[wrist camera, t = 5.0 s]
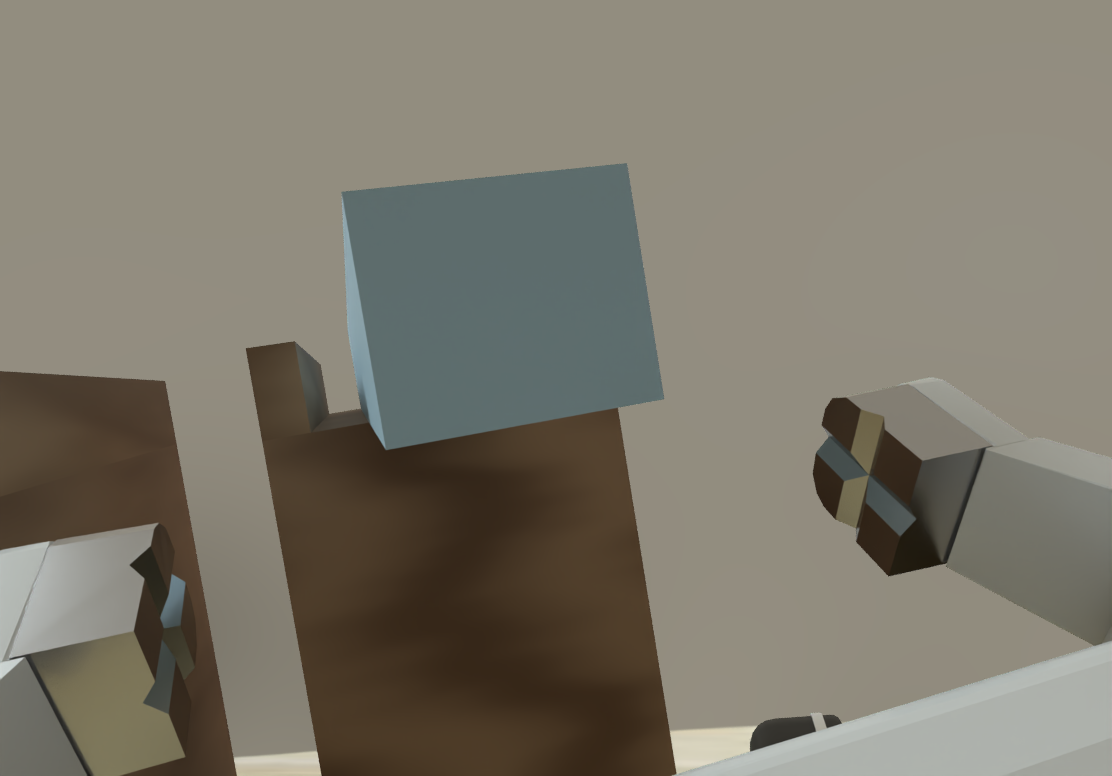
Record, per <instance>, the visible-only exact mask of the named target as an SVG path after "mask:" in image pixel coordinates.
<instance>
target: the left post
mask: <svg viewBox="0 0 1112 776" xmlns="http://www.w3.org/2000/svg"><path fill="white" fill-rule="evenodd" d="M155 523H160V524H161V525H163V526H164V527H165V528H166V530H167V532H168V535H169V537H170V540H171V542H172V545H173V548H174V550H175V555H174V562H173V569H172V574H173V575H174V576H176V577H178V578H179V579H181V580H183V581H185V582H186V585H187V588H188V591H189V594H190V597H191V601H192V606H193V610H194V615H195V622H196V638H197V651H196V663H195V668H194V669H193V670H192V672H191V673H190V674H189V675H188V676H187V678H186V679H185V680H184V683H185V685H186V688H187V691H188V693H189V696H190V699H191V702H192V703H191V712H190V721H189V730H188V739H187V748H186V757H184V758H180V759H177V760H173V761H169V762H166V763H162V764H159V765H155V766H152V767H148V768H145V769H141V770H138V771H134V772H131V773H127V774H124V775H120V776H237V774H236V769H235V763H234V758H233V753H232V747H231V741H230V736H229V730H228V725H227V719H226V714H225V709H224V703H223V697H222V692H221V687H220V681H219V675H218V670H217V664H216V659H215V653H214V648H213V642H212V637H211V631H210V626H209V620H208V615H207V609H206V604H205V599H204V593H203V587H202V582H201V576H200V571H199V565H198V560H197V554H196V549H195V543H194V538H193V533H192V527H191V521H190V516H189V510H188V505H187V500H186V494H185V488H184V483H183V477H182V472H181V466H180V461H179V456H178V450H177V444H176V439H175V433H174V428H173V422H172V417H171V411H170V406H169V400H168V395H167V389H166V384H165V381H155V380H138V379H137V380H136V379H121V378H104V377H87V376H71V375H54V374H36V373H21V372H2V371H0V551H1V550H4V549H9V548H15V547H20V546H26V545H31V544H37V543H42V542H48V541H54V542H55V541H56V540H58V539H64V538H70V537H76V536H83V535H89V534H95V533H101V532H107V531H113V530H119V529H125V528H131V527H137V526H143V525H149V524H155Z"/></svg>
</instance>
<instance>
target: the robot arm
mask: <svg viewBox="0 0 1112 776" xmlns="http://www.w3.org/2000/svg"><path fill="white" fill-rule="evenodd" d="M822 426H823V428H824V429H825V431H826V433H827V435H828V436H829V437H828V439H827V440H826V441H825V442H824V444H823V445H822V446H821V447H820V449H819V450H818V451H817V452H816V456H815V464H814V469H813V477H814V482H815V487H816V491H817V494H818V496H819V498H820V500H821V502H822V504H823V506H824V507H825V508H826V510H827V511H828V512H829V513H830V514H831V515H832V516H833V517H834V518H835V520H838V521H840V522H843V523H845V524H847V525H850V526H852V527H854V528H856V542H857V543H858V544H859V545H860V546H861V548H863V550H864V551H865V552H866V553H867V554H868V555H869V556H870V557H871V558H872V559H873V560H874V561H875V562H876V563H877V564H878V566H879V567H880V568H881V569H882V570H883V571H884V572H885V573H886V574H887V575H888V576H893V575H897V574H902V573H906V572H911V571H915V570H919V569H924V568H928V567H933V566H937V565H942V564H946V563H947V565H946V567H947V568H949V569H951V570H953V571H955V572H957V573H959V574H961V575H962V576H964V577H966V578H968V579H970V580H972V581H974V582H976V583H977V584H979V585H981V586H983V587H985V588H987V589H989V590H991V591H992V592H994V593H996V594H998V595H1000V596H1002V597H1004V598H1006V599H1008V600H1009V601H1011V602H1013V603H1015V604H1017V605H1019V606H1021V607H1023V608H1024V609H1027V610H1028V611H1030V612H1032V613H1034V614H1036V615H1038V616H1040V617H1041V618H1043V619H1045V620H1047V621H1049V622H1051V623H1053V624H1055V625H1056V626H1058V627H1060V628H1062V629H1064V630H1066V631H1068V632H1070V633H1071V634H1073V635H1075V636H1077V637H1079V638H1081V639H1083V640H1085V641H1087V642H1088V643H1090V644H1092V645H1094V646H1093V647H1090V648H1086V649H1083V650H1080V651H1077V652H1073V653H1070V654H1067V655H1063V656H1060V657H1057V658H1054V659H1050V660H1047V661H1044V662H1041V663H1037V664H1034V665H1031V666H1028V667H1024V668H1021V669H1018V670H1015V671H1011V672H1008V673H1005V674H1002V675H998V676H995V677H992V678H989V679H986V680H982V681H979V682H976V683H972V684H969V685H966V686H963V687H960V688H956V689H953V690H950V691H947V692H943V693H940V694H937V695H933V696H931V697H927V698H924V699H920V700H918V701H914V702H911V703H907V704H904V705H901V706H898V707H895V708H891V709H888V710H885V711H882V712H878V713H875V714H872V715H869V716H865V717H862V718H859V719H856V720H852V721H849V722H846V723H843V724H839V725H836V726H833V727H829V728H826V729H823V730H820V731H816V732H813V733H810V734H807V735H803V736H800V737H797V738H793V739H790V740H787V741H784V742H780V743H777V744H774V745H771V746H767V747H764V748H761V749H758V750H754V751H751V752H748V753H744V754H741V755H738V756H735V757H731V758H728V759H725V760H722V761H718V762H715V763H712V764H708V765H705V766H702V767H699V768H695V769H692V770H689V771H686V772H682V773H679V774H676V775H672V776H1112V458H1110V457H1106V456H1103V455H1100V454H1096V453H1092V452H1089V451H1086V450H1083V449H1079V448H1075V447H1072V446H1069V445H1065V444H1062V443H1059V442H1055V441H1051V440H1048V439H1044V438H1041V437H1037V438H1032V439H1029V438H1028V437H1026V436H1025V435H1023V434H1022V433H1020V432H1019V431H1017V430H1016V429H1014V428H1013V427H1012V426H1010V425H1009V424H1007V423H1006V422H1004V421H1003V420H1001V419H1000V418H998V417H997V416H996V415H994V414H993V413H991V412H990V411H988V410H987V409H985V408H984V407H983V406H981V405H980V404H978V403H977V402H975V401H974V400H972V399H971V398H969V397H968V396H967V395H965V394H963V393H962V392H961V391H959V390H958V389H956V388H955V387H953V386H952V385H950V384H949V383H948V382H946V381H945V380H941V379H937V378H932V377H930V378H925V379H921V380H916V381H911V382H907V383H902V384H899V385H897V386H894V387H889V388H884V389H878V390H873V391H868V392H863V393H857V394H852V395H847V396H842V397H836V398H832V400H831V401H830V403H829V404H828V406H827V407H826V409H825V413H824V417H823V422H822ZM174 555H175V550H174V548H173V545H172V542H171V540H170V537H169V535H168V532H167V530H166V528H165V527H164V526H163V525H161V524H160V523H155V524H149V525H143V526H137V527H131V528H125V529H119V530H113V531H107V532H101V533H95V534H89V535H83V536H76V537H70V538H64V539H58V540H56V541H55V542H54V541H48V542H42V543H37V544H31V545H26V546H20V547H15V548H9V549H4V550H1V551H0V776H120V775H124V774H127V773H131V772H134V771H138V770H141V769H145V768H148V767H152V766H155V765H159V764H162V763H166V762H169V761H173V760H177V759H180V758H184V757H186V748H187V739H188V730H189V721H190V712H191V703H192V702H191V699H190V696H189V693H188V691H187V688H186V685H185V683H184V680H185V679H186V678H187V676H188V675H189V674H190V673H191V672H192V670H193V669H194V668H195V663H196V651H197V638H196V622H195V615H194V610H193V606H192V601H191V597H190V594H189V591H188V588H187V585H186V582H185V581H183V580H181V579H179V578H178V577H176V576H174V575H173V574H172V569H173V562H174Z"/></svg>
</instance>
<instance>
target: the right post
mask: <svg viewBox="0 0 1112 776" xmlns="http://www.w3.org/2000/svg"><path fill="white" fill-rule="evenodd" d="M246 352H247V358H248V363H249V369H250V375H251V380H252V386H253V392H254V397H255V403H256V409H257V414H258V420H259V426H260V431H261V437H262V442H263V448H264V454H265V459H266V465H267V470H268V476H269V481H270V487H271V493H272V499H273V504H274V510H275V516H276V521H277V527H278V532H279V538H280V544H281V549H282V555H283V560H284V566H285V572H286V577H287V583H288V589H289V594H290V600H291V605H292V611H293V617H294V622H295V628H296V634H297V639H298V645H299V651H300V656H301V662H302V667H303V673H304V679H305V684H306V690H307V696H308V701H309V706H310V712H311V718H312V723H313V729H314V734H315V741H316V745H317V752H318V757H319V763H320V769H321V774H322V776H672V775H676V768H675V762H674V756H673V749H672V743H671V737H670V731H669V724H668V719H667V713H666V706H665V700H664V693H663V687H662V681H661V675H660V668H659V663H658V656H657V650H656V643H655V637H654V631H653V625H652V618H651V612H650V606H649V600H648V595H647V588H646V581H645V575H644V569H643V562H642V556H641V550H640V544H639V537H638V531H637V525H636V519H635V513H634V506H633V501H632V494H631V488H630V482H629V476H628V469H627V464H626V456H625V450H624V444H623V438H622V432H621V425H620V419H619V413H618V408H613V409H607V410H602V411H597V412H591V413H586V414H580V415H575V416H569V417H564V418H558V419H553V420H547V421H542V422H537V423H531V424H526V425H520V426H515V427H509V428H504V429H498V430H493V431H487V432H482V433H477V434H471V435H466V436H460V437H455V438H449V439H444V440H438V441H433V442H428V443H422V444H417V445H411V446H406V447H400V448H395V449H389V450H386V449H385V448H384V446H383V444H382V443H381V441H380V439H379V438H378V436H377V435H376V433H375V431H374V430H373V428H372V426H371V425H370V423H369V421H368V420H367V418H366V416H365V415H364V413H363V412H362V410H361V409H356V410H350V411H344V412H338V413H332V414H329V411H328V405H327V399H326V393H325V388H324V382H323V376H322V370H321V365H320V364H319V363H318V362H317V361H316V360H314V358H312V357H311V356H310V355H309V354H308V353H307V352H306V351H305V350H304V349H303V348H301V347H300V346H299V345H298V344H297V343H296V342H287V343H280V344H274V345H266V346H260V347H253V348H246Z"/></svg>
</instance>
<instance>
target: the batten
mask: <svg viewBox="0 0 1112 776" xmlns="http://www.w3.org/2000/svg"><path fill="white" fill-rule="evenodd" d="M342 211H343V233H344V255H345V278H346V299H347V321H348V336H349V341H350V347H351V353H352V359H353V364H354V370H355V376H356V382H357V388H358V393H359V399H360V405H361V410H362V412H363V413H364V415H365V416H366V418H367V420H368V421H369V423H370V425H371V426H372V428H373V430H374V431H375V433H376V435H377V436H378V438H379V439H380V441H381V443H382V444H383V446H384V448H385V449H386V450H389V449H395V448H400V447H406V446H411V445H417V444H422V443H428V442H433V441H438V440H444V439H449V438H455V437H460V436H466V435H471V434H477V433H482V432H487V431H493V430H498V429H504V428H509V427H515V426H520V425H526V424H531V423H537V422H542V421H547V420H553V419H558V418H564V417H569V416H575V415H580V414H586V413H591V412H597V411H602V410H607V409H613V408H618V407H623V406H629V405H634V404H640V403H646V402H651V401H656V400H662V399H664V395H663V389H662V382H661V376H660V370H659V363H658V357H657V350H656V344H655V338H654V331H653V325H652V319H651V312H650V306H649V300H648V294H647V287H646V281H645V275H644V268H643V262H642V256H641V249H640V243H639V237H638V230H637V224H636V218H635V211H634V205H633V199H632V192H631V186H630V180H629V173H628V167H627V164H626V163H625V164H615V165H605V166H595V167H585V168H576V169H566V170H555V171H546V172H535V173H525V174H517V175H506V176H496V177H485V178H475V179H465V180H455V181H445V182H435V183H425V184H416V185H406V186H396V187H386V188H376V189H366V190H357V191H346V192H342Z"/></svg>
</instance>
